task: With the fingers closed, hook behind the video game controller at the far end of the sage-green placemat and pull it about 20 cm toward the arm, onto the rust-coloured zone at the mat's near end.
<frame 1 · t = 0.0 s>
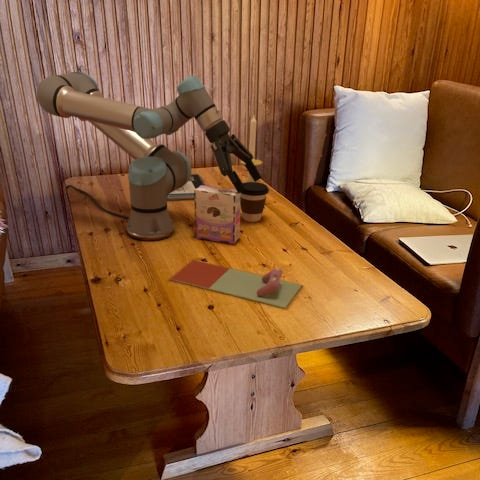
hand: (250, 185, 169), 17 cm above the table, tool tilted 40°, fingers open, 13 cm apart
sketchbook: (178, 188, 217), on the table
video game controller: (269, 290, 145), resting on placemat
coffee cup: (251, 219, 191), on the table
placemat: (236, 283, 148), on the table
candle: (249, 201, 207), on the table
candy box: (217, 239, 174), on the table, touching gripper
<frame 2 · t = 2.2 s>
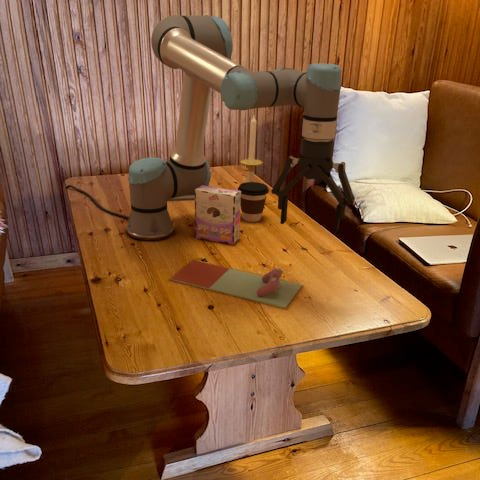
hand: (309, 226, 133), 20 cm above the table, tool pointing down, fingers open, 13 cm apart
candy box: (217, 239, 174), on the table
everything else where it was.
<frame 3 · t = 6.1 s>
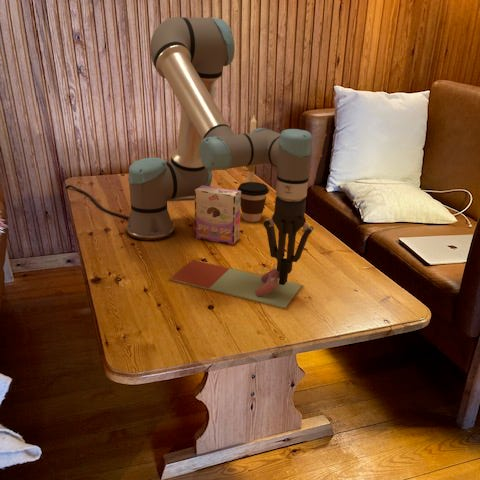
hand: (283, 282, 142), 4 cm above the table, tool pointing down, fingers closed
video game controller: (268, 290, 145), resting on placemat, touching gripper
everything else where it was.
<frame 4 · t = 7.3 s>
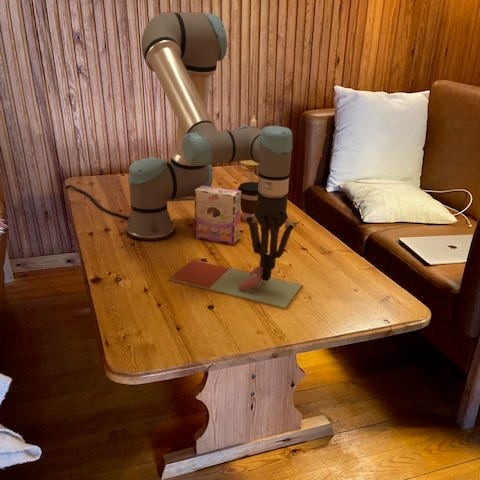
hand: (266, 278, 143), 4 cm above the table, tool pointing down, fingers closed
video game controller: (253, 286, 146), resting on placemat, touching gripper
everything else where it was.
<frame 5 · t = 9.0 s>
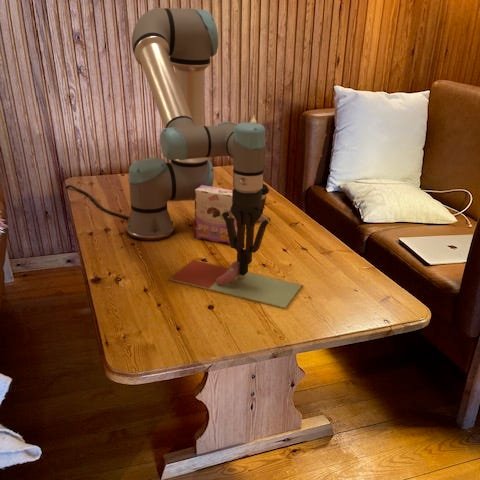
hand: (243, 273, 146), 4 cm above the table, tool pointing down, fingers closed
video game controller: (231, 281, 149), resting on placemat, touching gripper
candy box: (217, 239, 174), on the table, touching arm
everything else where it was.
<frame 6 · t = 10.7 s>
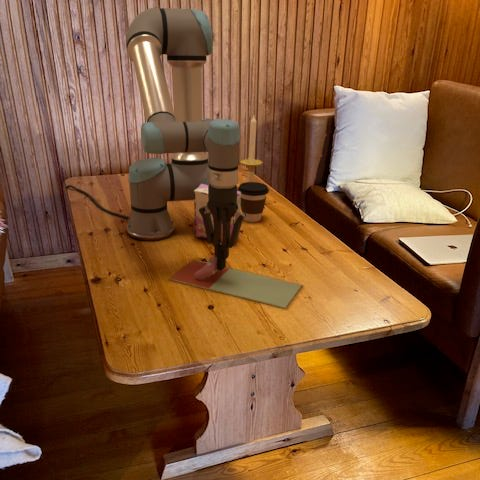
hand: (221, 267, 148), 4 cm above the table, tool pointing down, fingers closed
video game controller: (210, 275, 151), resting on placemat, touching gripper
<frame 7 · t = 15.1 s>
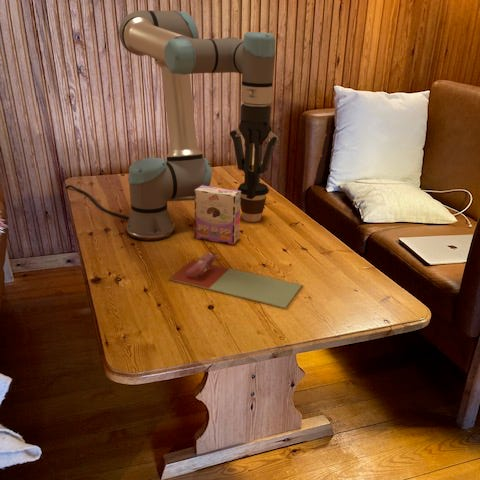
hand: (251, 197, 143), 22 cm above the table, tool pointing down, fingers closed
video game controller: (201, 273, 152), resting on placemat
candy box: (217, 239, 174), on the table
everything else where it was.
at the end: video game controller inside the target area (0.6 cm from its centre), resting on placemat; video game controller moved 20.9 cm from its start; video game controller tilted 0° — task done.
